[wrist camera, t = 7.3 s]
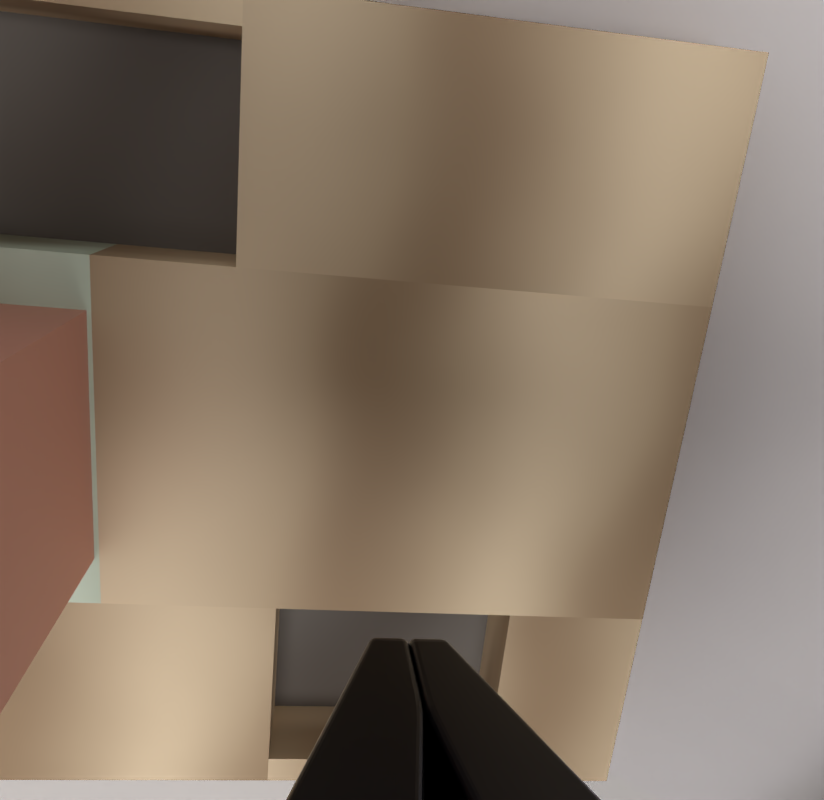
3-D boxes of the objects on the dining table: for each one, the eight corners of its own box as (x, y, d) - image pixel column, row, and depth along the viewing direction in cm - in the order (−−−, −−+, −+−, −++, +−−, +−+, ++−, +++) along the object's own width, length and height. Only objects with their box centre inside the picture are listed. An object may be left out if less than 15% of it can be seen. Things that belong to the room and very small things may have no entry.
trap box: (713, 66, 15) (890, 23, 10) (580, 720, 20) (657, 899, 15) (-280, -59, 13) (-650, -191, 8) (-156, 711, 17) (-339, 918, 13)
